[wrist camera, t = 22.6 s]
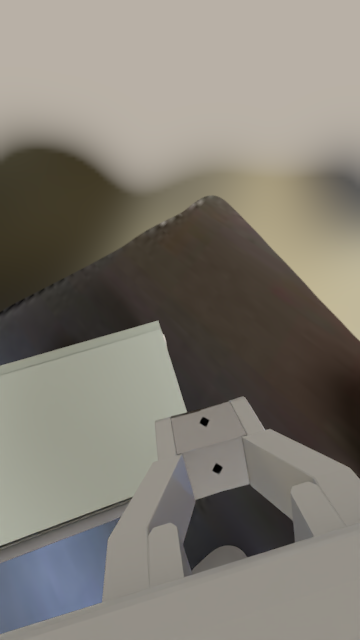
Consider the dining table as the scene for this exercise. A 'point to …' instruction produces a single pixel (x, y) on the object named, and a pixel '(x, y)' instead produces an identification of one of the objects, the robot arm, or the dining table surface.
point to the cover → (81, 427)
